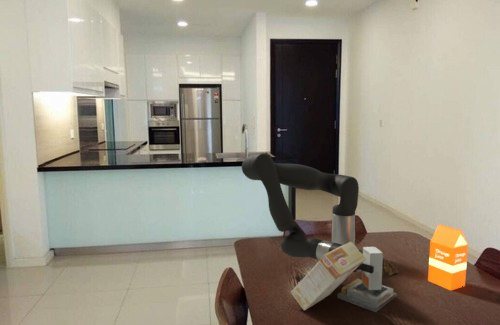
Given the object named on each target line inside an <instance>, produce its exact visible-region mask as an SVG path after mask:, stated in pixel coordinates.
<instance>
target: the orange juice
mask: <svg viewBox="0 0 500 325" xmlns="http://www.w3.org/2000/svg"><path fill="white" fill-rule="evenodd" d="M429 244H430V245H429V257H428V276H427V282H430V283H432V284H435V285H438V286H440V287H442V288H444V289H446V290H449V291H455V290H457V289H459V288H463V287H466V279H467V278H466V274H467V264H468V263H467V262H468V261H467V260H468V251H469V250H468V249H469V247H468V246H469V244H468V242H467V240H466V237H465V234H464V233H463V231H462V230H460V229H457V228H454V227H450V226H446V225H442V224H438V225H437V227H436V229H435V231H434V233H433V236H432V238H431V239H430V242H429ZM462 286H463V287H462Z"/></svg>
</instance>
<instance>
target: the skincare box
mask: <svg viewBox="0 0 500 325" xmlns="http://www.w3.org/2000/svg"><path fill="white" fill-rule="evenodd" d="M362 251H363V256H364V257H365V258H366V260H364V261H363V262H362V263H364V264H368V265H371V266H373V267H374V272H373V273H368V272H365V271H362V270H361V280H362V283H363V284H364V285H365V286H366V287H367V288H368V290H381V286H382V285H383V283H382V282H383V276H382V264H383V258H384V253H383V252H382V251H381V250H380V249H379V248H377V247H376V246H362Z"/></svg>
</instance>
